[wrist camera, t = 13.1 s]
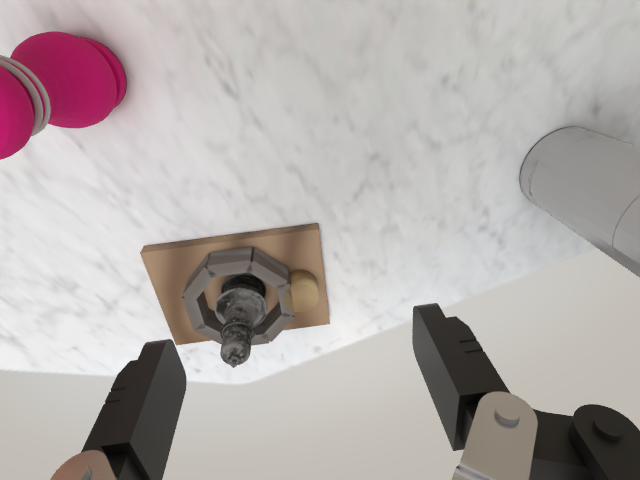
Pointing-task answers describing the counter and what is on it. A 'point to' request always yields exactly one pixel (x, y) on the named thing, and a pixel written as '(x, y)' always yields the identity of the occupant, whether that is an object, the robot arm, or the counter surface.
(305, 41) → the counter surface
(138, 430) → the robot arm
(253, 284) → the salt shaker
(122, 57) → the counter surface
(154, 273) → the board
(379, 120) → the counter surface
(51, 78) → the pepper mill
